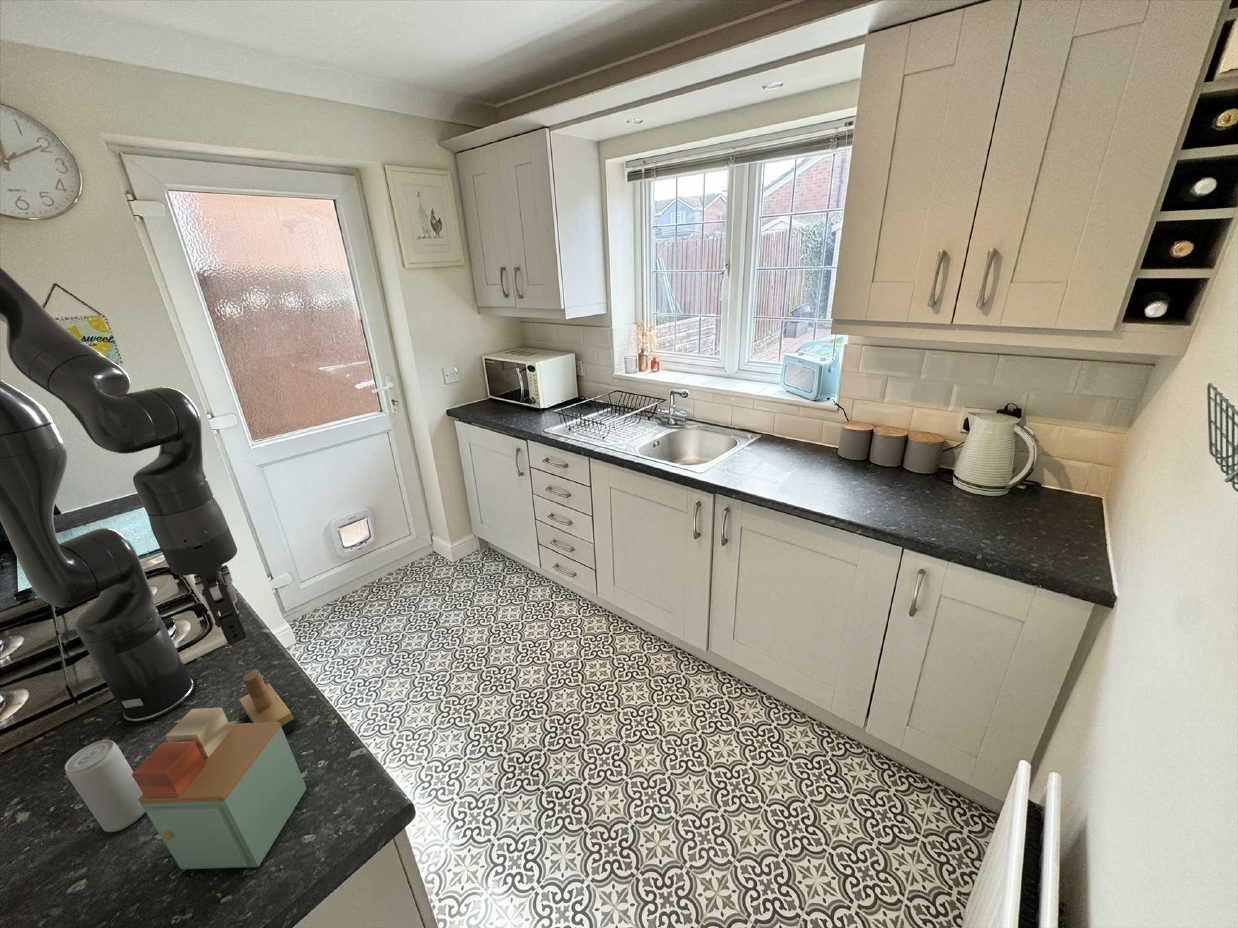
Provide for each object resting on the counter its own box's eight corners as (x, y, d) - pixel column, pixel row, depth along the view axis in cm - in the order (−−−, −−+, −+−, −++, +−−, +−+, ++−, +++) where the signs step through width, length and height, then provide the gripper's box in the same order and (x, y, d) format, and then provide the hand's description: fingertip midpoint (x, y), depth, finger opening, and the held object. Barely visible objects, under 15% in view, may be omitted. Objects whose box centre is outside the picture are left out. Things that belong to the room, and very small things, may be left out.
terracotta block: (175, 765, 60) (162, 742, 58) (206, 764, 59) (194, 741, 58) (145, 798, 56) (130, 774, 54) (178, 796, 56) (165, 773, 54)
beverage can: (160, 799, 69) (125, 739, 65) (125, 835, 65) (84, 773, 60) (130, 797, 70) (94, 737, 65) (94, 833, 65) (51, 771, 61)
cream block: (203, 730, 64) (191, 708, 63) (232, 729, 64) (221, 707, 63) (177, 758, 60) (164, 735, 59) (208, 757, 60) (196, 734, 59)
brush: (274, 697, 85) (256, 653, 82) (297, 727, 79) (278, 681, 76) (245, 714, 82) (225, 669, 79) (266, 747, 76) (245, 700, 72)
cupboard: (239, 790, 70) (206, 724, 65) (307, 787, 70) (279, 721, 65) (174, 877, 60) (130, 806, 55) (253, 874, 59) (216, 803, 55)
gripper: (157, 526, 70) (199, 618, 75) (159, 563, 60) (206, 664, 66) (221, 509, 74) (256, 596, 80) (233, 540, 64) (271, 636, 70)
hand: (234, 627), depth 73 cm, fingers open, 8 cm apart
